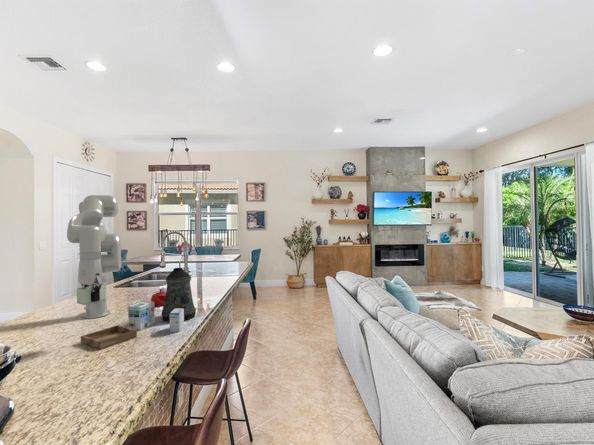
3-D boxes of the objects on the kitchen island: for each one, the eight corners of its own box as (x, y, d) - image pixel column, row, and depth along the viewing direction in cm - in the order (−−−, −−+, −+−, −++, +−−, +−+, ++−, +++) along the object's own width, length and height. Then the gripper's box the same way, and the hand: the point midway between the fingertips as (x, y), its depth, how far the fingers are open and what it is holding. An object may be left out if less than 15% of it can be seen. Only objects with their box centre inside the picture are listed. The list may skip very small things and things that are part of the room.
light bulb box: (140, 330, 151) (140, 307, 151) (127, 329, 153) (127, 306, 153) (155, 323, 162) (155, 301, 162) (143, 322, 163) (142, 300, 163)
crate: (80, 343, 136) (80, 336, 136) (117, 331, 150) (117, 325, 150) (100, 349, 130) (100, 342, 129) (136, 337, 143) (136, 330, 143)
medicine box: (174, 326, 157) (174, 308, 156) (184, 326, 157) (184, 308, 157) (169, 332, 149) (169, 313, 149) (179, 332, 149) (179, 312, 149)
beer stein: (177, 324, 160) (176, 272, 159) (150, 318, 169) (149, 269, 169) (202, 315, 174) (202, 267, 174) (176, 310, 183) (176, 265, 183)
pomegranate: (147, 306, 193) (146, 290, 192) (159, 302, 202) (159, 286, 202) (160, 307, 189) (160, 291, 189) (173, 303, 199) (172, 287, 198)
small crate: (77, 303, 135) (76, 288, 135) (97, 298, 142) (97, 284, 142) (84, 305, 132) (83, 289, 132) (104, 300, 139) (104, 286, 139)
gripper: (69, 256, 138) (70, 299, 138) (92, 258, 129) (92, 305, 130) (89, 254, 145) (89, 295, 145) (111, 256, 136) (112, 300, 136)
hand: (91, 299), depth 137 cm, fingers closed on small crate, 5 cm apart
